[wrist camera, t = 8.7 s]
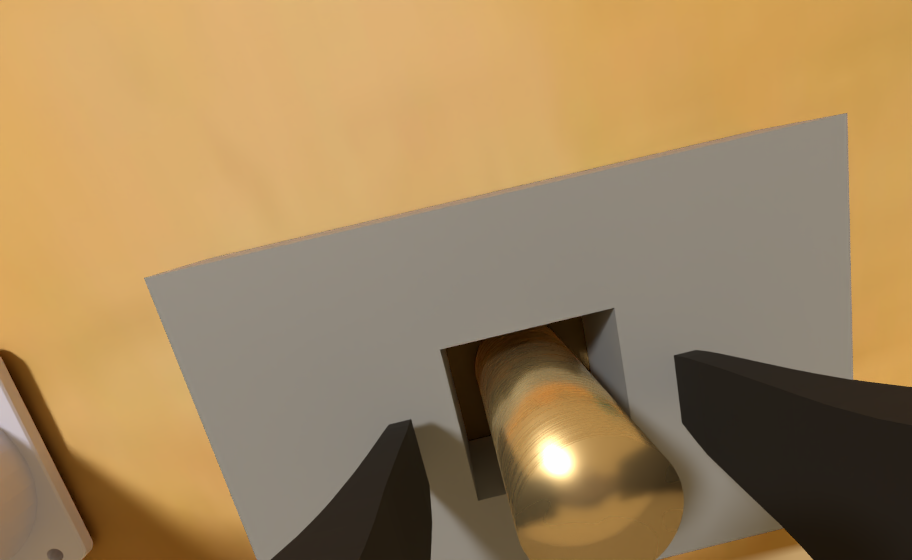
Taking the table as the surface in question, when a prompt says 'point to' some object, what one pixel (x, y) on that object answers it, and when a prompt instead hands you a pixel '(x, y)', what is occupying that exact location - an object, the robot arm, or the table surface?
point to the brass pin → (572, 456)
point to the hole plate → (517, 325)
